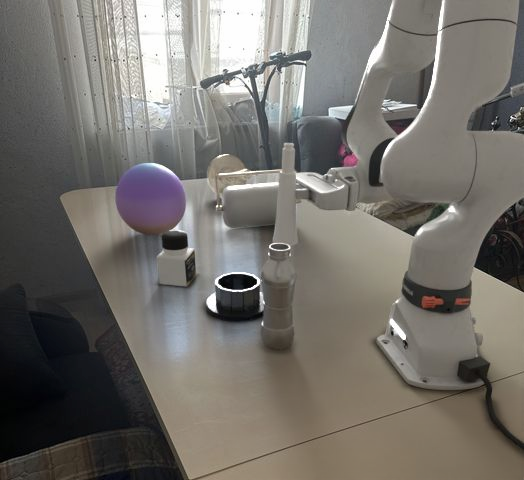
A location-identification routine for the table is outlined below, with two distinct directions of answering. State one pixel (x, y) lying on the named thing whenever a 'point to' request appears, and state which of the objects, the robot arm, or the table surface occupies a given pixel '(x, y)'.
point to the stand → (236, 298)
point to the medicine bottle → (176, 259)
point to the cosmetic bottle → (286, 200)
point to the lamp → (242, 193)
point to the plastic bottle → (278, 297)
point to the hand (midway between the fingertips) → (284, 192)
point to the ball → (150, 199)
